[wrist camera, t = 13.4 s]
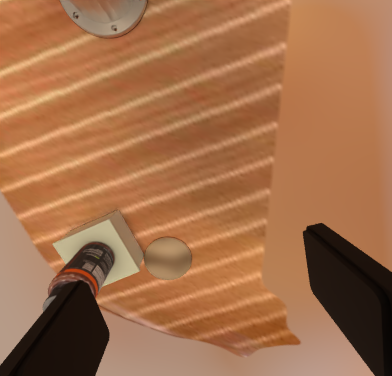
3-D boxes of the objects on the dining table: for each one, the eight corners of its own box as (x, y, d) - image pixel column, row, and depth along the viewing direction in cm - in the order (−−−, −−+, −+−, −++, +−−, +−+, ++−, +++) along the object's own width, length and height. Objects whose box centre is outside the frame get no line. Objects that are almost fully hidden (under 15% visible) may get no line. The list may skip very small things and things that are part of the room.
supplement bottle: (81, 272, 38) (36, 331, 27) (77, 240, 36) (28, 288, 25) (117, 272, 38) (86, 331, 27) (114, 240, 36) (82, 289, 25)
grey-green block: (68, 230, 41) (52, 244, 36) (118, 208, 40) (108, 219, 35) (97, 274, 44) (86, 293, 39) (145, 254, 43) (139, 271, 38)
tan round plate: (138, 243, 42) (137, 244, 42) (184, 232, 42) (184, 233, 41) (152, 282, 44) (152, 284, 44) (196, 272, 44) (196, 274, 44)
